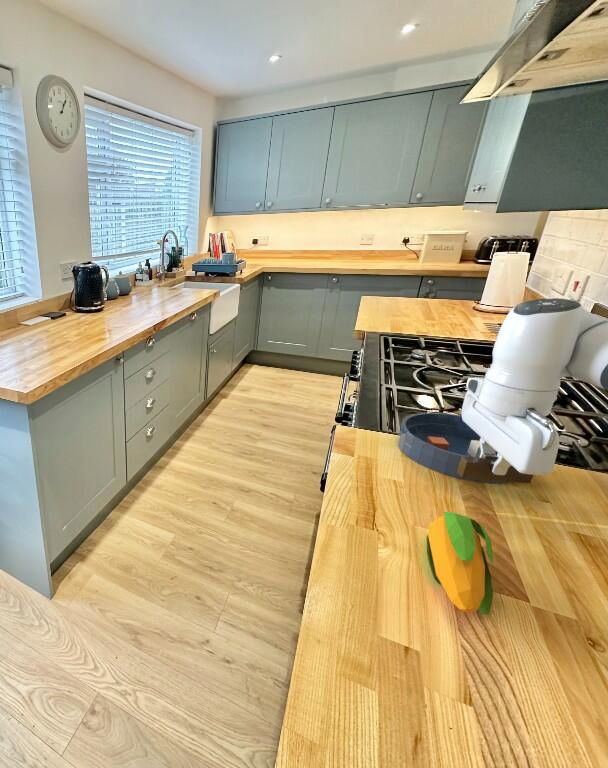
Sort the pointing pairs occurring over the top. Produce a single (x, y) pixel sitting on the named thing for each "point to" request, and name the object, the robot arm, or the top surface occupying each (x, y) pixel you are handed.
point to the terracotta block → (438, 442)
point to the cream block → (474, 448)
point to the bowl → (444, 427)
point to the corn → (461, 561)
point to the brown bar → (489, 471)
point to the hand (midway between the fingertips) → (491, 467)
